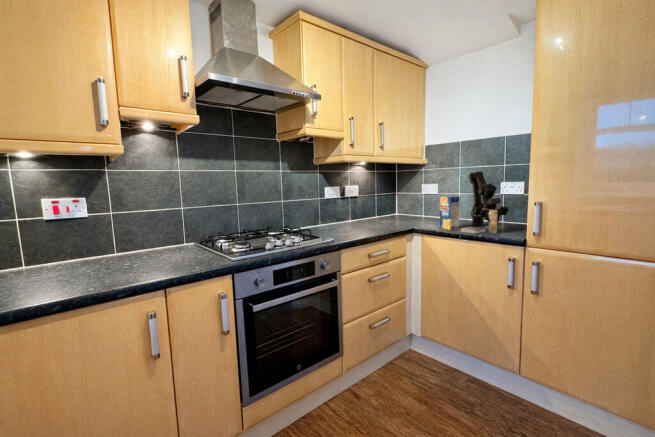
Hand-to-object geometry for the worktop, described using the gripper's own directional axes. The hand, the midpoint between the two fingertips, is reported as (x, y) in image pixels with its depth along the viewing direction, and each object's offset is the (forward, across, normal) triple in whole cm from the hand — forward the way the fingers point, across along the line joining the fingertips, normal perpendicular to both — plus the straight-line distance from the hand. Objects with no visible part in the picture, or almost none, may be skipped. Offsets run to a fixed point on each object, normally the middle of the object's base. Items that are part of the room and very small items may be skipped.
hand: (493, 221), depth 185 cm
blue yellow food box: (-8, -22, +18) cm, 29 cm away
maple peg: (+4, 0, +6) cm, 7 cm away
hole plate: (+1, -10, +9) cm, 14 cm away
